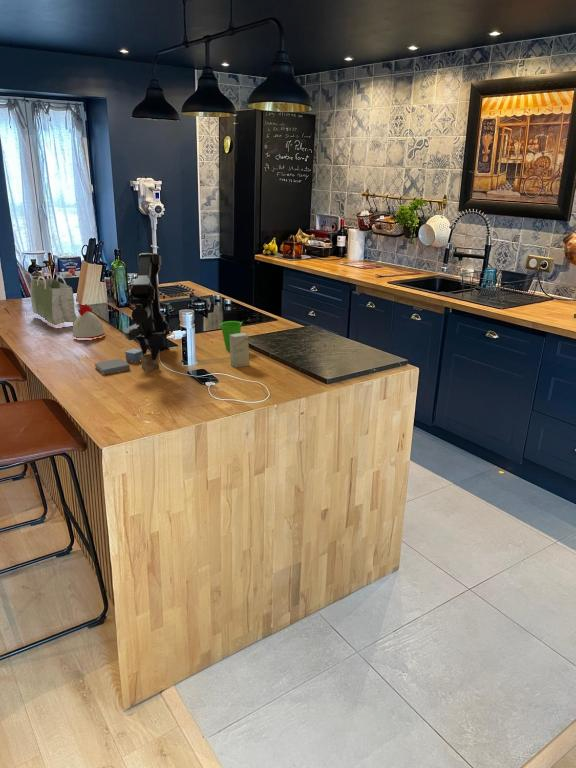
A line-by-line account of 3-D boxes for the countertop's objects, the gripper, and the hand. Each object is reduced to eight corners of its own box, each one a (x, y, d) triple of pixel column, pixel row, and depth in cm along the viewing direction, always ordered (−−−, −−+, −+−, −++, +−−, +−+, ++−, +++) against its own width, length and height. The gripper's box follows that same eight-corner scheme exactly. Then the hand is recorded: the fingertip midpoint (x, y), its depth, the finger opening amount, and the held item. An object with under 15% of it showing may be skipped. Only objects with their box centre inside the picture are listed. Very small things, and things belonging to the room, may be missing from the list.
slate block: (135, 358, 235) (134, 348, 233) (144, 359, 232) (143, 350, 231) (126, 361, 231) (125, 351, 229) (135, 363, 228) (134, 353, 227)
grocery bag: (82, 324, 287) (76, 277, 279) (54, 329, 279) (46, 281, 271) (59, 313, 310) (52, 269, 302) (32, 318, 302) (25, 273, 294)
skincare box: (234, 368, 220) (233, 337, 216) (230, 364, 224) (228, 334, 220) (249, 365, 223) (248, 334, 219) (245, 362, 227) (243, 332, 222)
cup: (247, 347, 245) (245, 322, 241) (236, 353, 238) (235, 327, 234) (228, 345, 249) (227, 320, 245) (217, 351, 241) (215, 325, 237)
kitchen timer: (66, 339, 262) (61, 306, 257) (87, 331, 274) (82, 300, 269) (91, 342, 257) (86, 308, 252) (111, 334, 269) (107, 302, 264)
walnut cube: (154, 365, 225) (152, 353, 224) (159, 368, 221) (158, 356, 220) (141, 368, 223) (140, 355, 221) (146, 371, 219) (145, 358, 217)
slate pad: (120, 363, 228) (120, 358, 228) (129, 369, 221) (129, 364, 220) (95, 368, 223) (94, 363, 222) (103, 375, 215) (103, 369, 215)
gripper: (115, 315, 218) (120, 355, 224) (133, 325, 204) (138, 367, 209) (143, 311, 224) (147, 349, 229) (163, 320, 210) (167, 361, 215)
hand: (149, 357), depth 221 cm, fingers open, 9 cm apart
